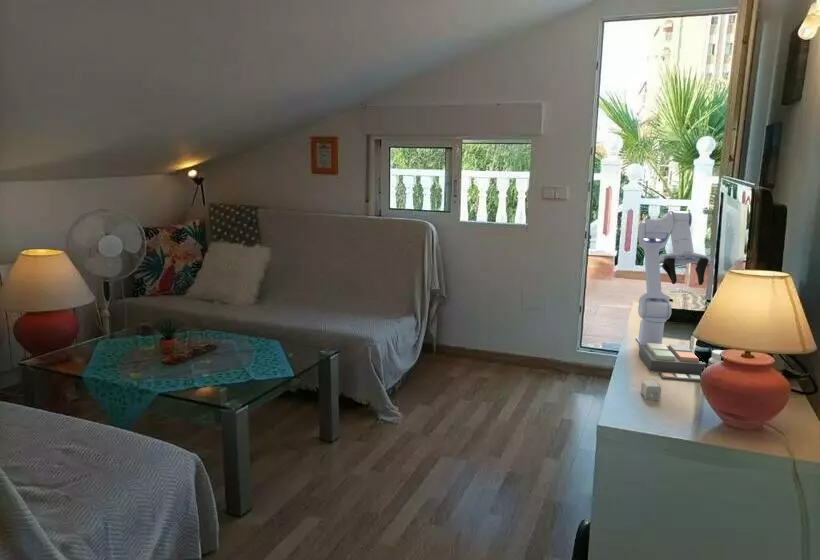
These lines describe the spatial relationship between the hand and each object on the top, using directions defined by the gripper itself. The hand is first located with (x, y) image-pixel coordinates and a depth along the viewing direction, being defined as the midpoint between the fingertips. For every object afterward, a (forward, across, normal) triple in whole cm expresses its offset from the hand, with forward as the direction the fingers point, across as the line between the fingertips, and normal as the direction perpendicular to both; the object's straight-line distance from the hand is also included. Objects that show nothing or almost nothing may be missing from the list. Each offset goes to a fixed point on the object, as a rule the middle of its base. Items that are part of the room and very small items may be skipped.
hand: (687, 283), depth 183 cm
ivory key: (+13, -4, +26) cm, 29 cm away
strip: (+24, 0, +15) cm, 29 cm away
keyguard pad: (+16, 0, +24) cm, 29 cm away
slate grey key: (+13, +3, +26) cm, 29 cm away
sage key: (+17, -4, +21) cm, 27 cm away
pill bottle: (+27, +9, +13) cm, 31 cm away
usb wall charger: (+36, -14, +2) cm, 39 cm away
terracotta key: (+17, +3, +21) cm, 27 cm away
